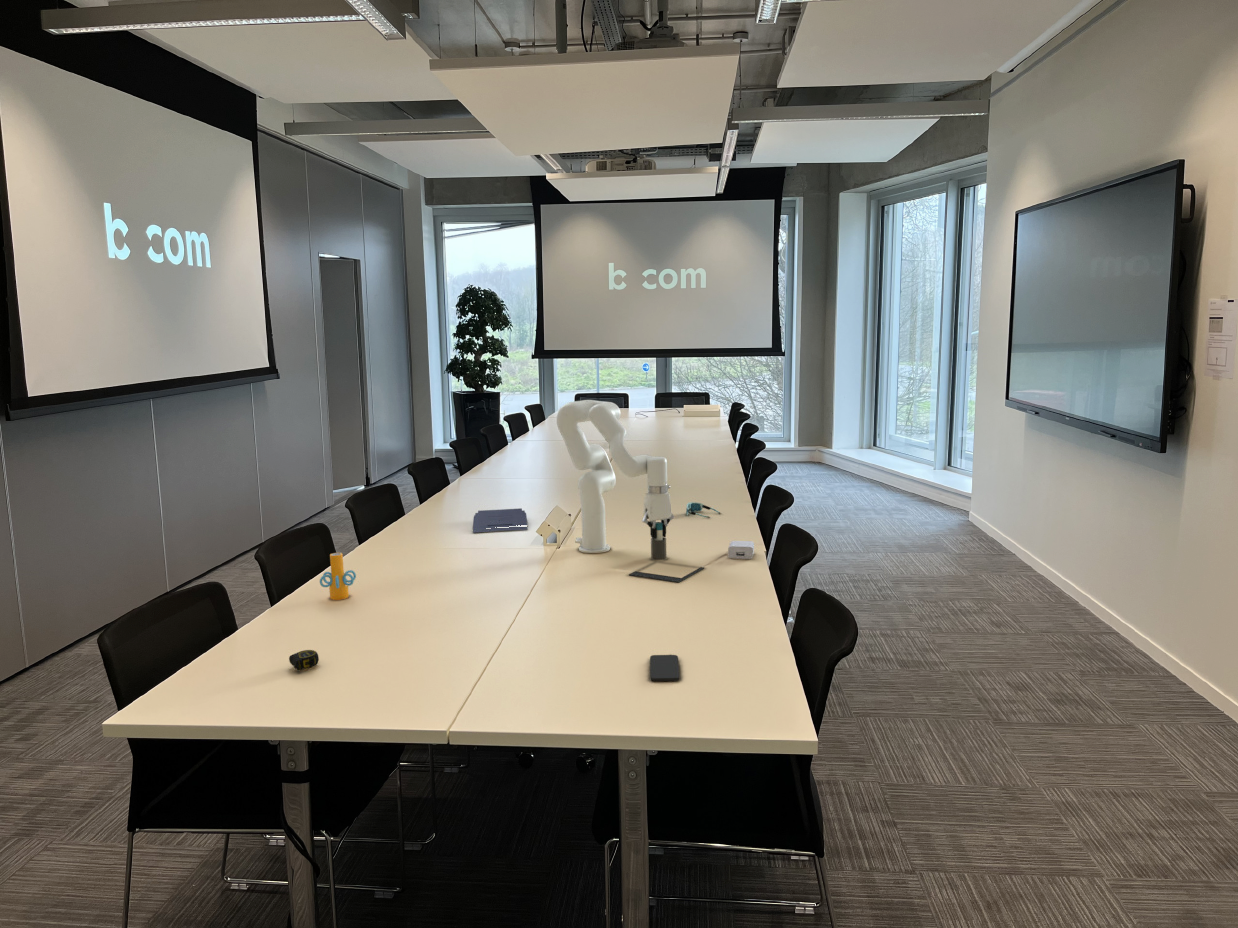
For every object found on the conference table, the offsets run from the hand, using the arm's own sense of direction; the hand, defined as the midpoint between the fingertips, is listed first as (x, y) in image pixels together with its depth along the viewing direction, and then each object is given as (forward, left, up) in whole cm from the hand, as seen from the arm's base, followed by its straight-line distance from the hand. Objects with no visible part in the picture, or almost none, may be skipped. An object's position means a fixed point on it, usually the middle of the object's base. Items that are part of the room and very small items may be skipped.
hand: (658, 536), depth 322 cm
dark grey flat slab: (-94, +20, -9) cm, 97 cm away
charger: (+25, +21, -9) cm, 34 cm away
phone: (+53, -93, -9) cm, 107 cm away
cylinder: (-73, -90, -9) cm, 116 cm away
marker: (0, 0, -8) cm, 8 cm away
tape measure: (-32, -137, -9) cm, 141 cm away
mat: (+11, -14, -9) cm, 20 cm away
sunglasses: (-20, +78, -9) cm, 81 cm away
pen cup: (0, 0, -9) cm, 9 cm away
